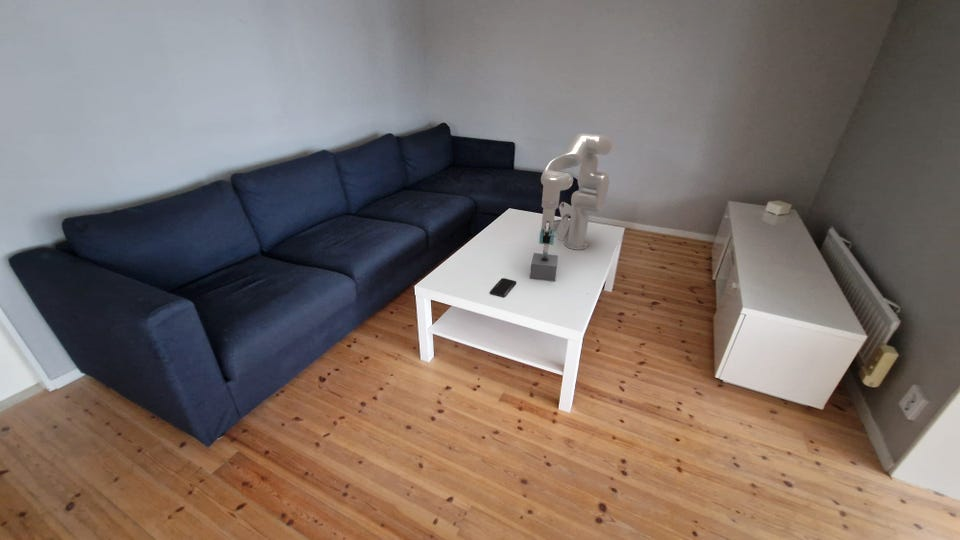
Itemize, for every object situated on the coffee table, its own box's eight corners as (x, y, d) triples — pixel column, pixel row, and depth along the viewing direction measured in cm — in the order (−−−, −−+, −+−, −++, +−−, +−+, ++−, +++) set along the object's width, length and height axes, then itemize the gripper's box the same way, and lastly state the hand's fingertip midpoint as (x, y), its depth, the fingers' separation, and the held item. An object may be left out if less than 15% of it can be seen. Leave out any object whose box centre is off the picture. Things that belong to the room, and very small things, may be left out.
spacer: (540, 238, 188) (541, 228, 186) (553, 239, 187) (554, 229, 185) (539, 243, 183) (539, 233, 180) (552, 244, 181) (553, 235, 179)
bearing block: (532, 266, 200) (533, 252, 196) (556, 269, 197) (558, 255, 193) (529, 278, 189) (531, 263, 186) (555, 281, 187) (556, 266, 183)
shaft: (542, 261, 192) (544, 235, 185) (547, 262, 191) (549, 235, 185) (541, 263, 190) (544, 237, 183) (546, 264, 189) (549, 237, 182)
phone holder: (546, 230, 242) (548, 202, 233) (560, 228, 245) (563, 200, 237) (560, 241, 228) (564, 212, 219) (575, 239, 231) (579, 209, 222)
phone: (517, 281, 185) (504, 296, 173) (517, 283, 186) (504, 298, 174) (501, 277, 188) (488, 292, 177) (501, 279, 189) (488, 294, 177)
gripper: (543, 197, 184) (540, 232, 193) (540, 209, 169) (536, 246, 178) (559, 198, 183) (555, 233, 191) (557, 210, 168) (553, 248, 176)
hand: (546, 239), depth 184 cm, fingers closed on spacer, 6 cm apart
